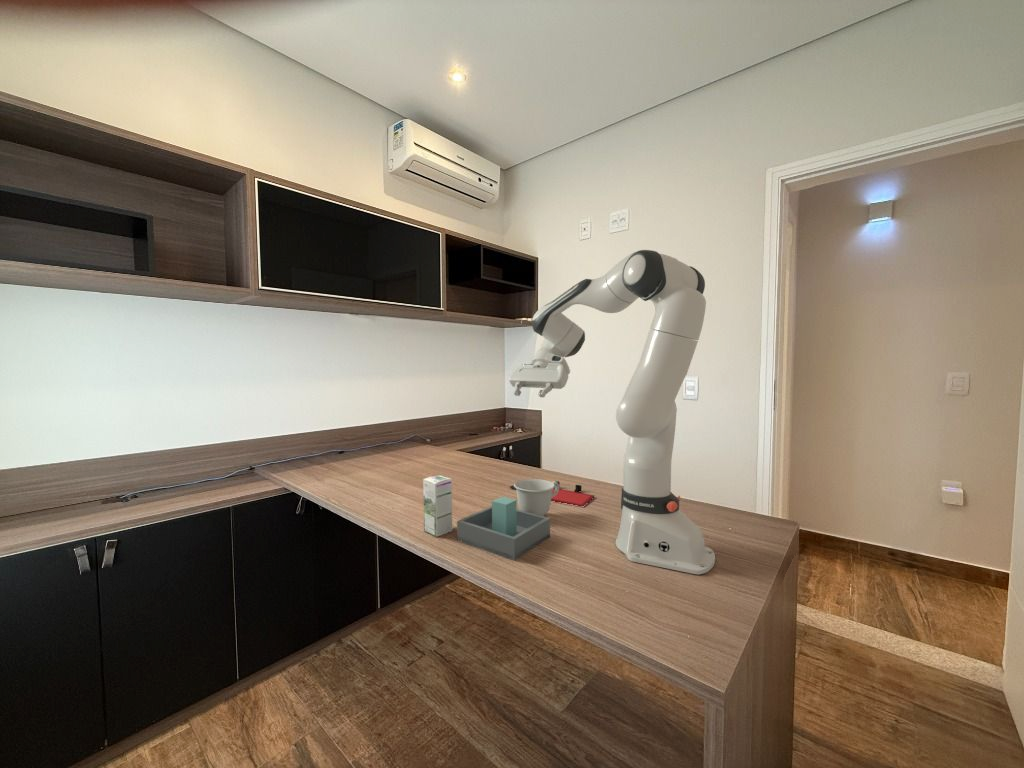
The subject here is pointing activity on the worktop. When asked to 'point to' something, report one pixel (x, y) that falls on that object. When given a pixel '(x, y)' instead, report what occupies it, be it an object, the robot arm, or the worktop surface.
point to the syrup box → (437, 505)
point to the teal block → (504, 515)
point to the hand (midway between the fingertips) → (528, 395)
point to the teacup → (535, 495)
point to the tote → (512, 547)
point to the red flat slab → (570, 496)
